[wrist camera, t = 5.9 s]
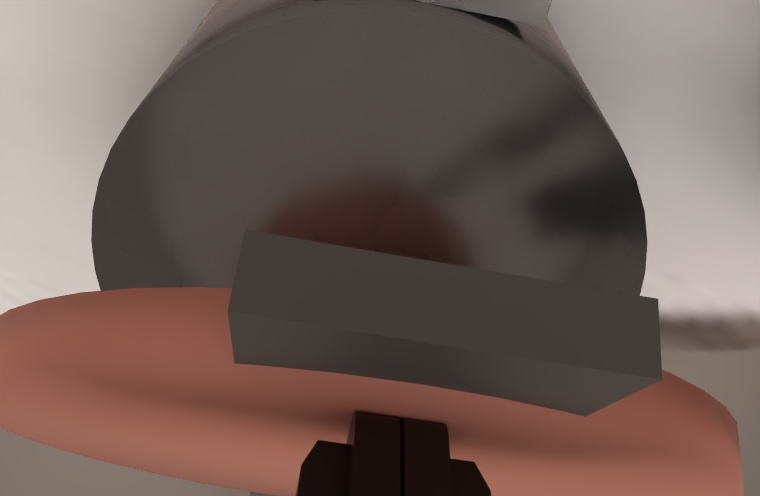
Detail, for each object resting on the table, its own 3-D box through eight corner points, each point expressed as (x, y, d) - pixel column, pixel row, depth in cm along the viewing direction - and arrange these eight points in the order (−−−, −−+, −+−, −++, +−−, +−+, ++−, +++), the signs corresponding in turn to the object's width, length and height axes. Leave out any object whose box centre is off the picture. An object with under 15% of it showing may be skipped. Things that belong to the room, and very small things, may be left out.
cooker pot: (206, -256, 24) (69, -268, 14) (665, -153, 25) (838, -97, 15) (183, 258, 36) (100, 451, 26) (499, 309, 37) (536, 511, 27)
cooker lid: (-300, 121, 8) (-371, 235, 7) (1098, 357, 9) (1133, 469, 9) (87, 433, 26) (76, 474, 25) (552, 498, 27) (552, 538, 26)
